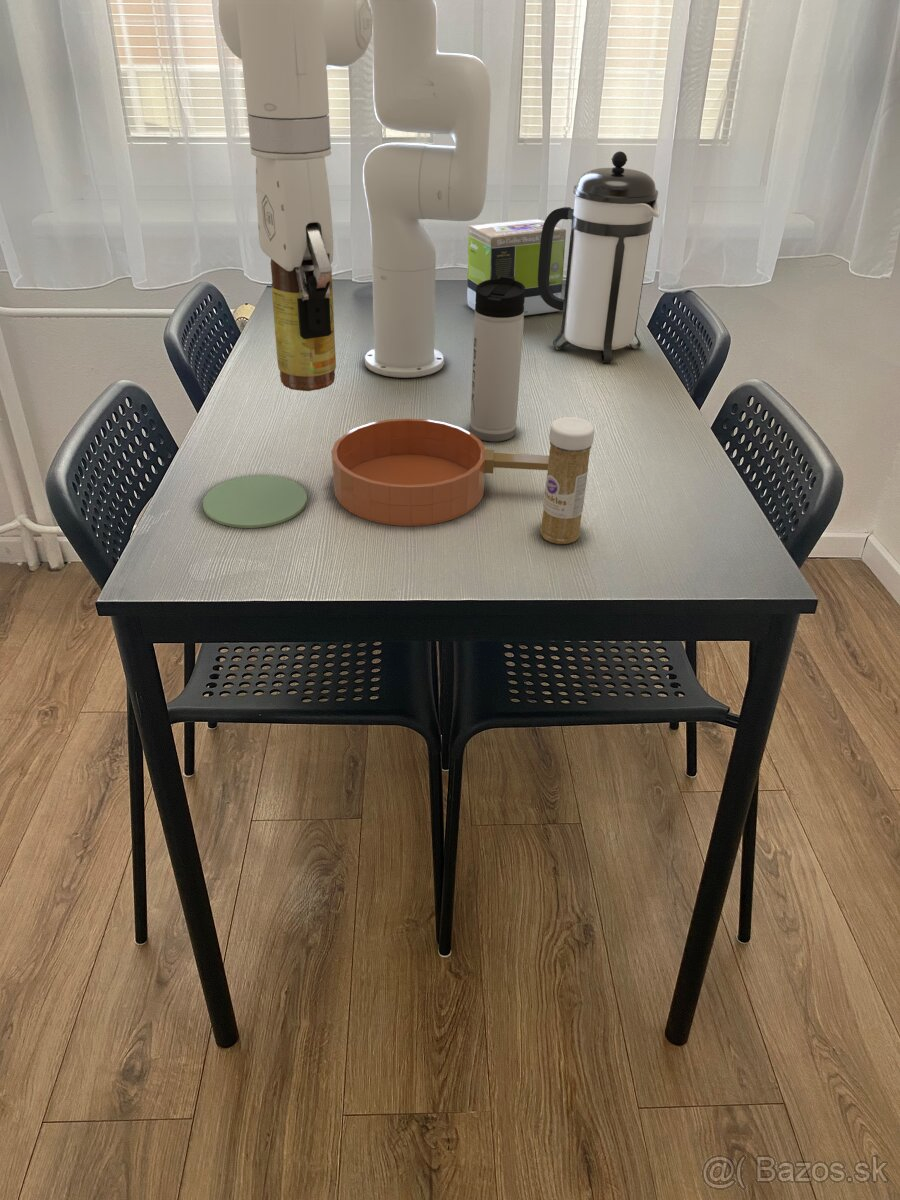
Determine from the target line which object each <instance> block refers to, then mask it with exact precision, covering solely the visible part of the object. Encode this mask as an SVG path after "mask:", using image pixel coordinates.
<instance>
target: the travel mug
mask: <svg viewBox="0 0 900 1200" xmlns="http://www.w3.org/2000/svg"><path fill="white" fill-rule="evenodd" d="M524 301H525V286H524V285H523V284H522V283H520V282H518V281H515V278H514V277H507V276H501V277H500V279H490V280H486V281H483V282H481V283H480V284H478V285H477V287H476V301H475V302H476V304H475V310H474V317H473V318H474V320H473V323H474V324H473V346H472V370H471V371H472V372H471V393H470V394H471V395H470V396H471V397H470V423H469V424H470V426H469V432H470V433H472V434H474V435H475V436H476V437H477V438H478V439H479V440H481V441H484V442H485V441H486V442H495V443H496V442H504V441H507V440H510V439H512V438H513V437H515V435H516V433H517V421H518V420H517V419H518V405H519V393H520V392H519V390H520V379H521V378H520V376H521V363H522V361H521V360H522V349H523V347H522V346H523V335H524V321H525V318H524V317H525V316H524Z"/></svg>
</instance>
